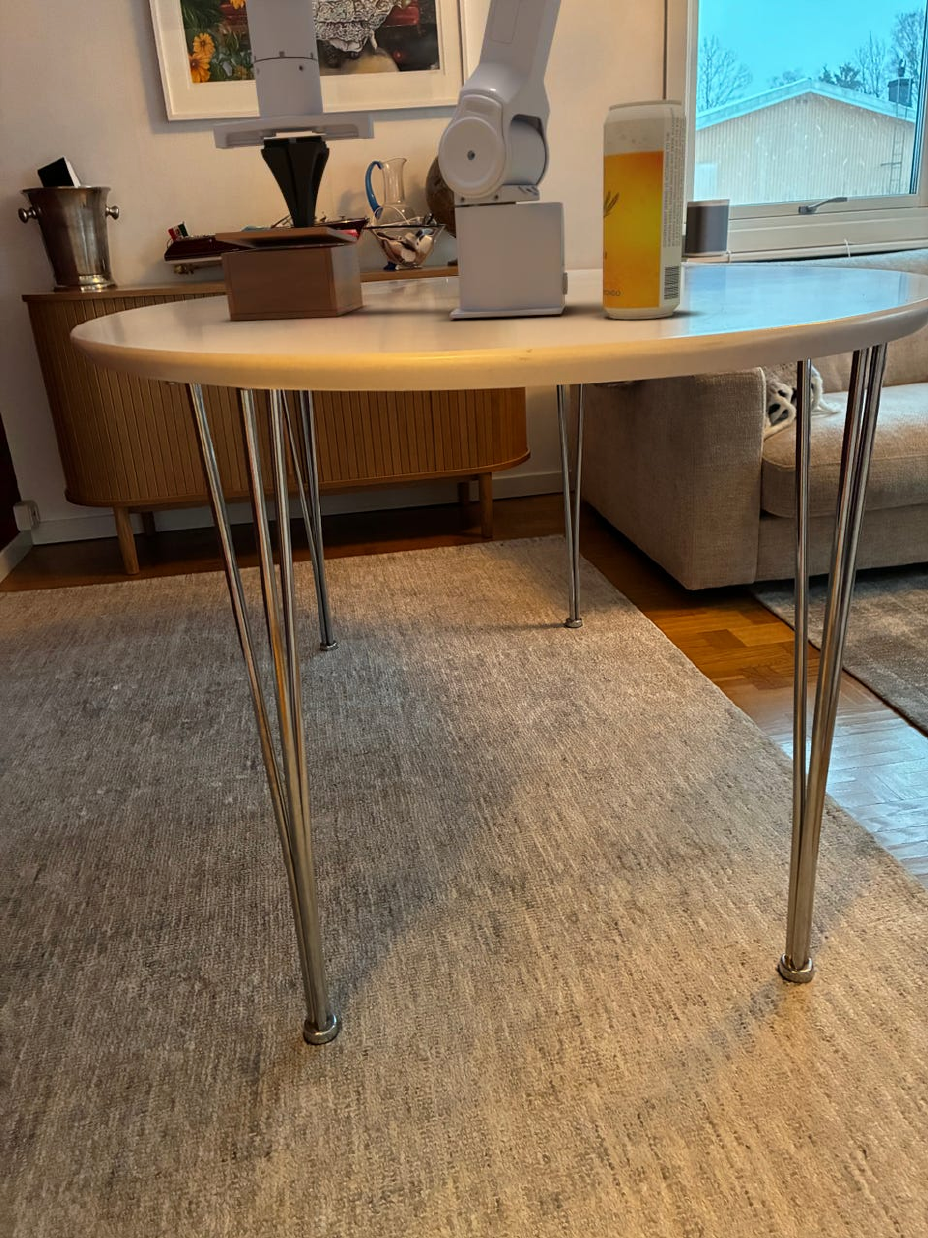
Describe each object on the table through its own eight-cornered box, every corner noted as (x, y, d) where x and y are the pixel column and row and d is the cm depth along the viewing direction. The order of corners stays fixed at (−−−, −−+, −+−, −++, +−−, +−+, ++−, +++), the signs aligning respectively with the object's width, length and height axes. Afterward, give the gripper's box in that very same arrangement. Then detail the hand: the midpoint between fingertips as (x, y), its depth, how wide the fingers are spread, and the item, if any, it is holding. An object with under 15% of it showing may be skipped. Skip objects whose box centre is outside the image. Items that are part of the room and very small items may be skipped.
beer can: (626, 310, 79) (629, 110, 73) (692, 312, 75) (701, 101, 69) (588, 319, 74) (588, 106, 68) (656, 320, 71) (662, 96, 65)
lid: (327, 233, 85) (326, 226, 84) (215, 239, 86) (214, 232, 86) (357, 242, 95) (356, 236, 94) (256, 248, 96) (255, 242, 96)
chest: (337, 316, 88) (330, 247, 86) (230, 320, 90) (220, 253, 87) (363, 306, 97) (357, 243, 95) (264, 310, 99) (256, 248, 96)
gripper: (376, 62, 84) (388, 224, 90) (225, 75, 87) (246, 232, 92) (356, 51, 78) (371, 226, 83) (194, 65, 80) (219, 234, 86)
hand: (304, 229), depth 87 cm, fingers closed, pressing on lid
